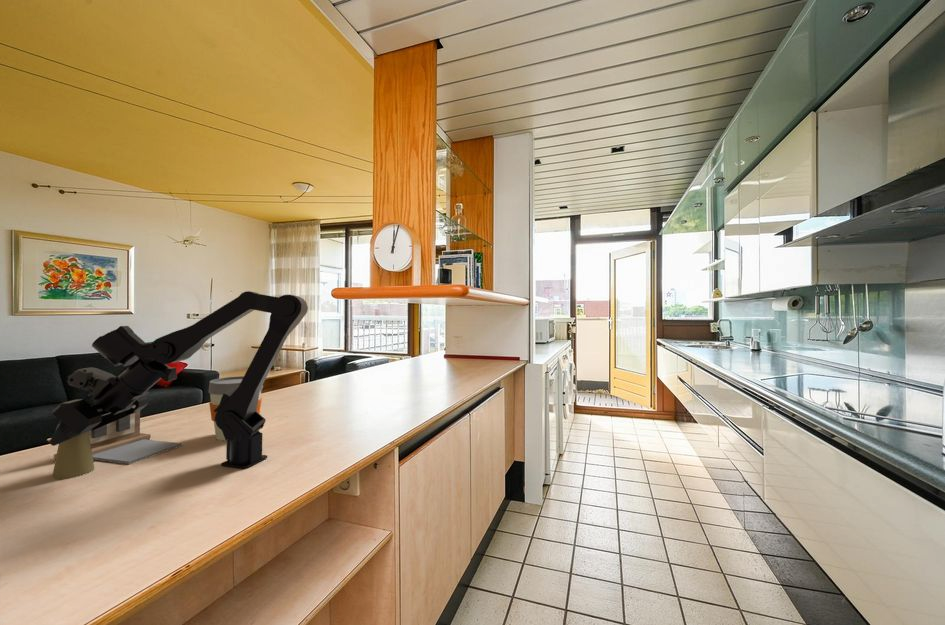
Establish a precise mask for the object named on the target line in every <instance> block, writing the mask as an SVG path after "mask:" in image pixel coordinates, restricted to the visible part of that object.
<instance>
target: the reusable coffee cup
mask: <svg viewBox="0 0 945 625" xmlns="http://www.w3.org/2000/svg"><path fill="white" fill-rule="evenodd" d="M243 377H244V375H239V376H227V377H220V378H216V379H215V378H214V379H211V380H210V381H209V386H208V391H207V392H208V394H209V395H210V396H209V398H210V402H209V403H208V404H209V411H210V417H211V418H210V419H211V421H213V425H214V434H215V439H216V440H217V439H218V441H222V440H224V441H225V442H227V441H226V440H225V437H224V435H223V432H222V430H221V429H219V427H218V426H217V425H216V422H215V415H216V413H217V412H214V410H215V409H216V408H217V407H218V406H219V404H220V401H221V398H222V396H223V394H224V393H226V392H229V391H231V390H233V389H237V388H238V387H239V385H240V383H241V381H242V379H243ZM263 388H264V385H262V387H261V389H260V391H259V398H258V404H257V407H256V410H255V411H257V412H258V413H259V414H260V412H261V407H262V406H261V405H262V399H263V398H262V397H261V395H262V390H263Z"/></svg>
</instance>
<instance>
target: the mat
mask: <svg viewBox="0 0 945 625" xmlns="http://www.w3.org/2000/svg"><path fill="white" fill-rule="evenodd" d="M179 446H180V447H182V446H183V442H173V441H164V440H155V439H149V440H147V439H143V440H140V441H136V442H133V443H130V444H127V445H123V446H120V447H117V448H113V449H110V450H107V451H103V452H100V453H97V454H93V455H92V456H93V461H98V460H100V461H99V462H106V461H109V462H108V463H115V464H123V463H124V464H123V465H130V464H134V463H137V462H140V461H142V459H143V460H145V458H146V459H147V458H151V457H154V456H157V455H160V454H162V452H163V453H164V452H165V451H166V452H168V451H170V449H171V450H174V449H176V447H177V448H179ZM173 448H174V449H173ZM167 450H168V451H167ZM159 453H160V454H159ZM156 454H157V455H156ZM153 455H154V456H153ZM150 456H151V457H150ZM139 460H140V461H139ZM136 461H137V462H136Z"/></svg>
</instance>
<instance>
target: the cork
mask: <svg viewBox="0 0 945 625" xmlns="http://www.w3.org/2000/svg"><path fill="white" fill-rule="evenodd" d="M58 425H59V423H58V424H57V426H56V428H55V430H56V429H57V427H58ZM90 431H91V430H90ZM90 431H87V432H85V433H83V434H80V435H78V436H76V437H73V438H71V439H69V440H66V441H64V442H62V443H60V444H57V445H58V446H57V447H58V448H57V451H56V454H57V455H56V460H55V461H54V466H53V470H52V476H51V478H52V479H53V478H54V480H65V479H66V478H67V479H72V478H76V476H78V477H81V476H84V475H83V474H85V475H87V474H89V472H90V473H92V472H93V471H94V470H95V469H94V468H95V464H94V460H93V456H92V450H91V444H90V438H89V432H90ZM91 471H92V472H91ZM86 473H87V474H86ZM80 475H81V476H80ZM67 479H66V480H67Z"/></svg>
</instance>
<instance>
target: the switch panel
mask: <svg viewBox="0 0 945 625" xmlns="http://www.w3.org/2000/svg"><path fill="white" fill-rule="evenodd" d="M135 407H136V406H135V405H134V406H133V408H135ZM151 436H152V435H151V434H150V433H141V410H140V411H137V412H136V413H134V414H131V415H129V416H126V417H124V418H122V419H119V420H117V421H115V422H112V423H110V424H107V425H105V426H103V427H100V428H98V429H96V430H93V431H90V432H89V438H90V444H91V450H92V455H93V454H97V453H100V452H103V451H107V450H110V449H113V448H117V447H120V446H123V445H127V444H130V443H133V442H136V441H140V440H143V439H147V440H148V439H149V440H151V439H150V438H151ZM56 455H57V453H54V454H53V460H54V459H56Z"/></svg>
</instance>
